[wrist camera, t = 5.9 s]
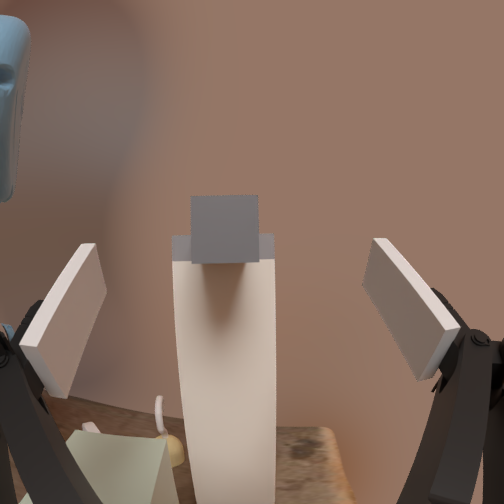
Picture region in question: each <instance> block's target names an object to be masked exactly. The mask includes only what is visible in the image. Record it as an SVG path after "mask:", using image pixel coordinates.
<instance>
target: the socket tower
mask: <svg viewBox="0 0 504 504" xmlns="http://www.w3.org/2000/svg"><path fill="white" fill-rule="evenodd" d="M172 261H173V262H172V264H173V291H174V310H175V311H174V312H175V329H176V343H177V356H178V367H179V378H180V389H181V399H182V408H183V416H184V424H185V432H186V440H187V447H188V454H189V461H190V467H191V473H192V480H193V486H194V491H195V497H196V502H197V504H275V470H276V322H275V321H276V320H275V319H276V318H275V317H276V316H275V315H276V314H275V264H274V263H275V260H274V234H259V262H252V263H211V264H192V261H191V235H185V236H172Z"/></svg>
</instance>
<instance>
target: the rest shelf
mask: <svg viewBox="0 0 504 504" xmlns="http://www.w3.org/2000/svg"><path fill="white" fill-rule="evenodd" d="M66 445H67V447H68V448H69V450H70V452H71V454H72V456H73V457H74V459H75V461H76V463H77V464H78V466H79V468H80V469H81V471H82V473H83V474H84V476H85V477H86V479H87V481H88V482H89V484H90V485H91V487H92V488H93V490H94V491H95V493H96V494H97V496H98V497H99V499H100V500H101V502H102V503H103V504H179V500H178V496H177V491H176V486H175V482H174V477H173V472H172V467H171V461H170V456H169V450H168V445H167V439H155V438H140V437H128V436H118V435H109V434H101V433H94V432H87V431H81V430H75V431H74V432H73V434H72V435H71V436H70V437H69V439H68V440H67V441H66ZM19 504H33V503H32V501H31V499H30V497H29V495H28V492H27V494H26V495H25V496H24V498H23V499H22V500H21V502H20V503H19Z"/></svg>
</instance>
